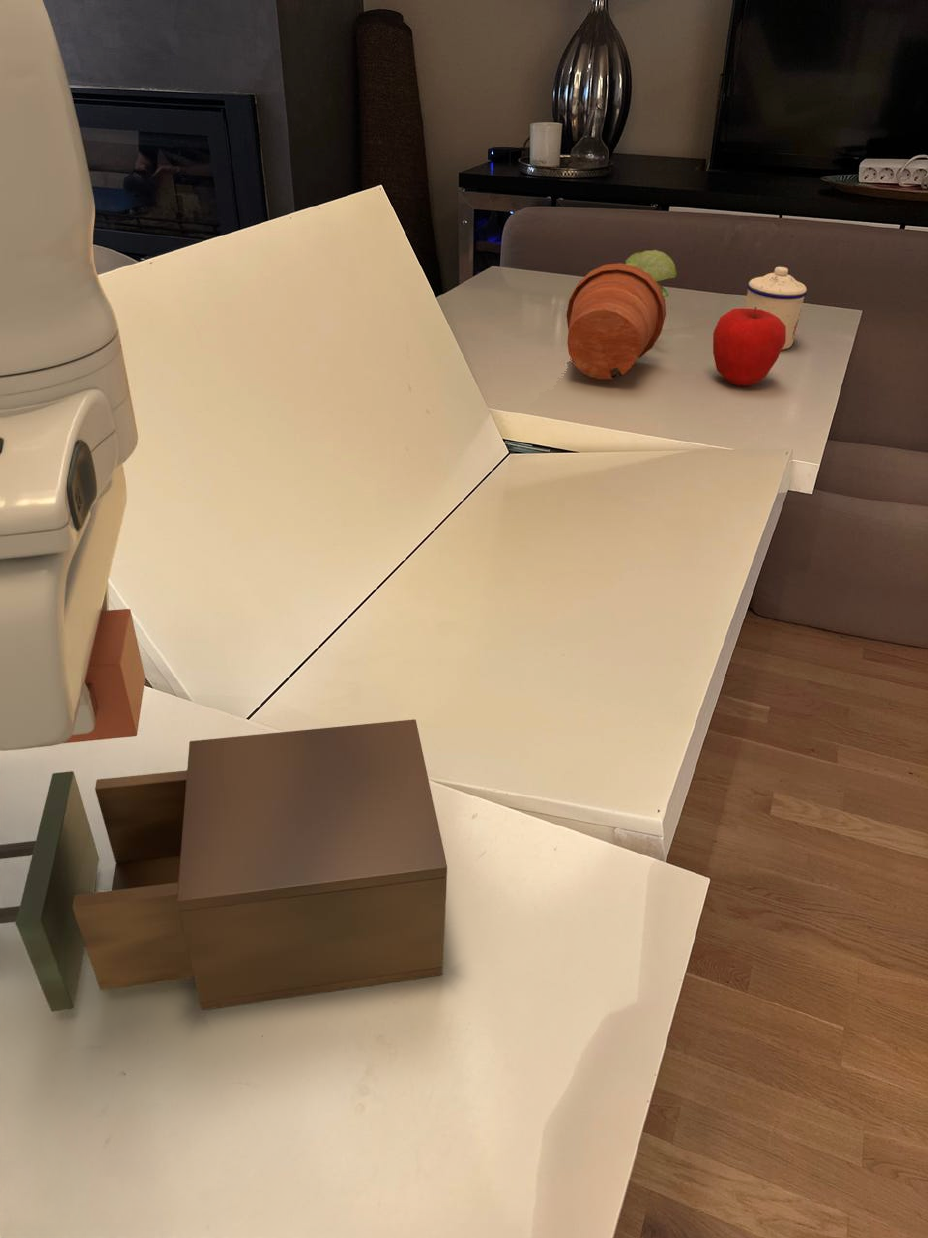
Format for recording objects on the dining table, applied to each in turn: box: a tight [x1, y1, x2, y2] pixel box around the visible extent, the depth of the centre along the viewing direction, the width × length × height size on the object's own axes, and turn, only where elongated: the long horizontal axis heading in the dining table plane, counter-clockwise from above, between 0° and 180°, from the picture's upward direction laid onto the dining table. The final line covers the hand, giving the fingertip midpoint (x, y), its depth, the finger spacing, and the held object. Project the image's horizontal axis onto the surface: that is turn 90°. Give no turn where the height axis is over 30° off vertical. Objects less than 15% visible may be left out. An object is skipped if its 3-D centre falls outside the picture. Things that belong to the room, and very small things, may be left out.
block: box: [63, 608, 146, 744], centre depth 43 cm, size 4×4×4 cm
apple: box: [712, 307, 786, 387], centre depth 130 cm, size 10×10×11 cm
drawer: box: [0, 769, 194, 1013], centre depth 52 cm, size 17×10×8 cm, turn 101°
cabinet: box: [177, 718, 448, 1010], centre depth 53 cm, size 14×12×10 cm
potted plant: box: [565, 249, 677, 380], centre depth 138 cm, size 16×15×35 cm
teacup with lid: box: [743, 266, 808, 351], centre depth 146 cm, size 12×9×12 cm
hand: (86, 684), depth 43 cm, fingers closed on block, 4 cm apart
